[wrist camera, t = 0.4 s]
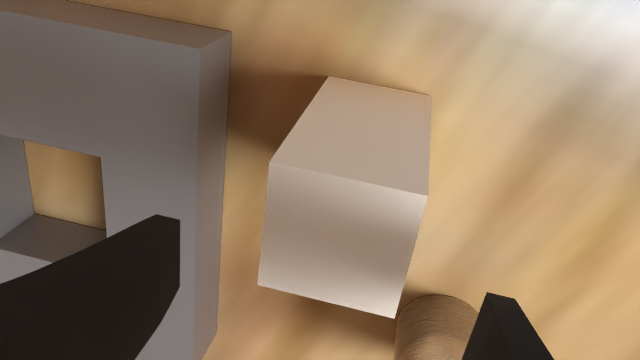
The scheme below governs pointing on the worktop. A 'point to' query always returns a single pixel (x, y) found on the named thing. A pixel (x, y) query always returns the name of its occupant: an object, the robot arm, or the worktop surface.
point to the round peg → (434, 329)
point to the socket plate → (119, 141)
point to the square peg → (348, 197)
